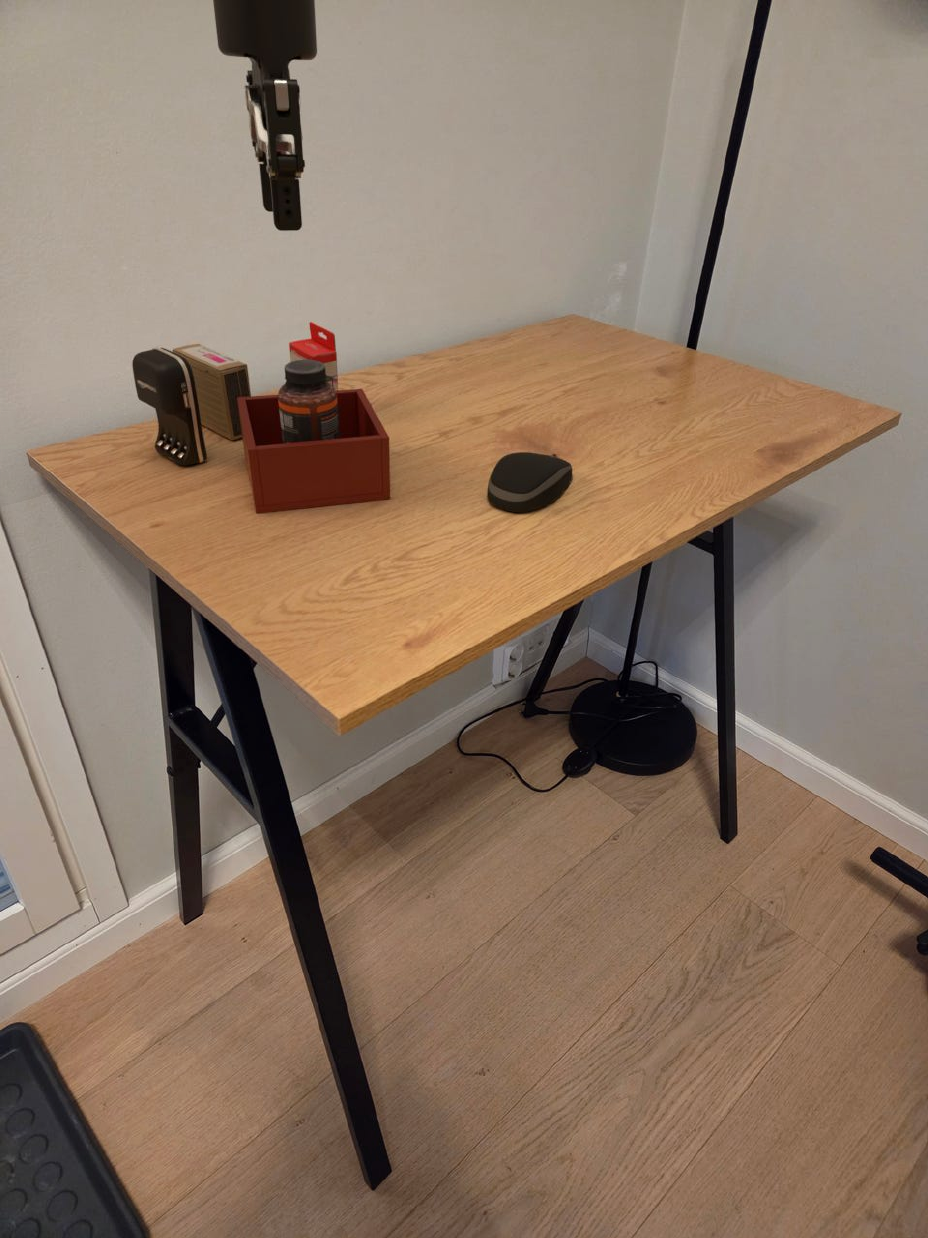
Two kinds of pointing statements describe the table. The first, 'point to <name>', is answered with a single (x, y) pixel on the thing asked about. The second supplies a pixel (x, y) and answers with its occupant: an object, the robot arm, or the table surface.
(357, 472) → the tote
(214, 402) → the ink box
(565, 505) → the table surface
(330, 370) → the ink box
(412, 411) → the table surface
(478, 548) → the table surface
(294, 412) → the supplement bottle
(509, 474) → the computer mouse
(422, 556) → the table surface
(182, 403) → the battery charger
